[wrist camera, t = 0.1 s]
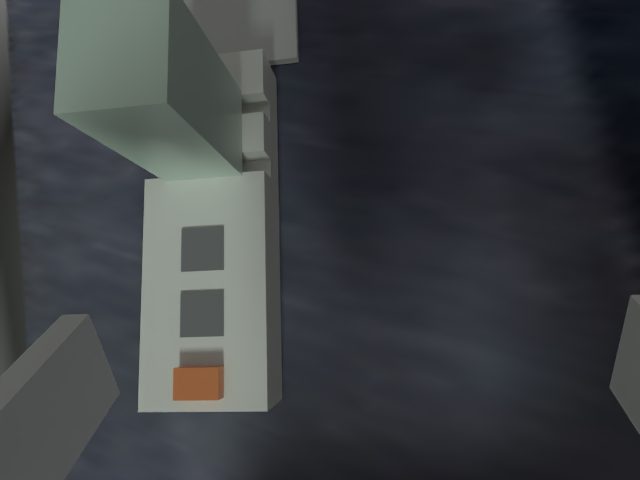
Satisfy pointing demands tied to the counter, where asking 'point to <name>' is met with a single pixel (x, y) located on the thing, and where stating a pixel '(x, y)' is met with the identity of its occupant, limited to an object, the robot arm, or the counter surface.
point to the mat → (250, 26)
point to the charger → (149, 87)
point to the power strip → (216, 272)
